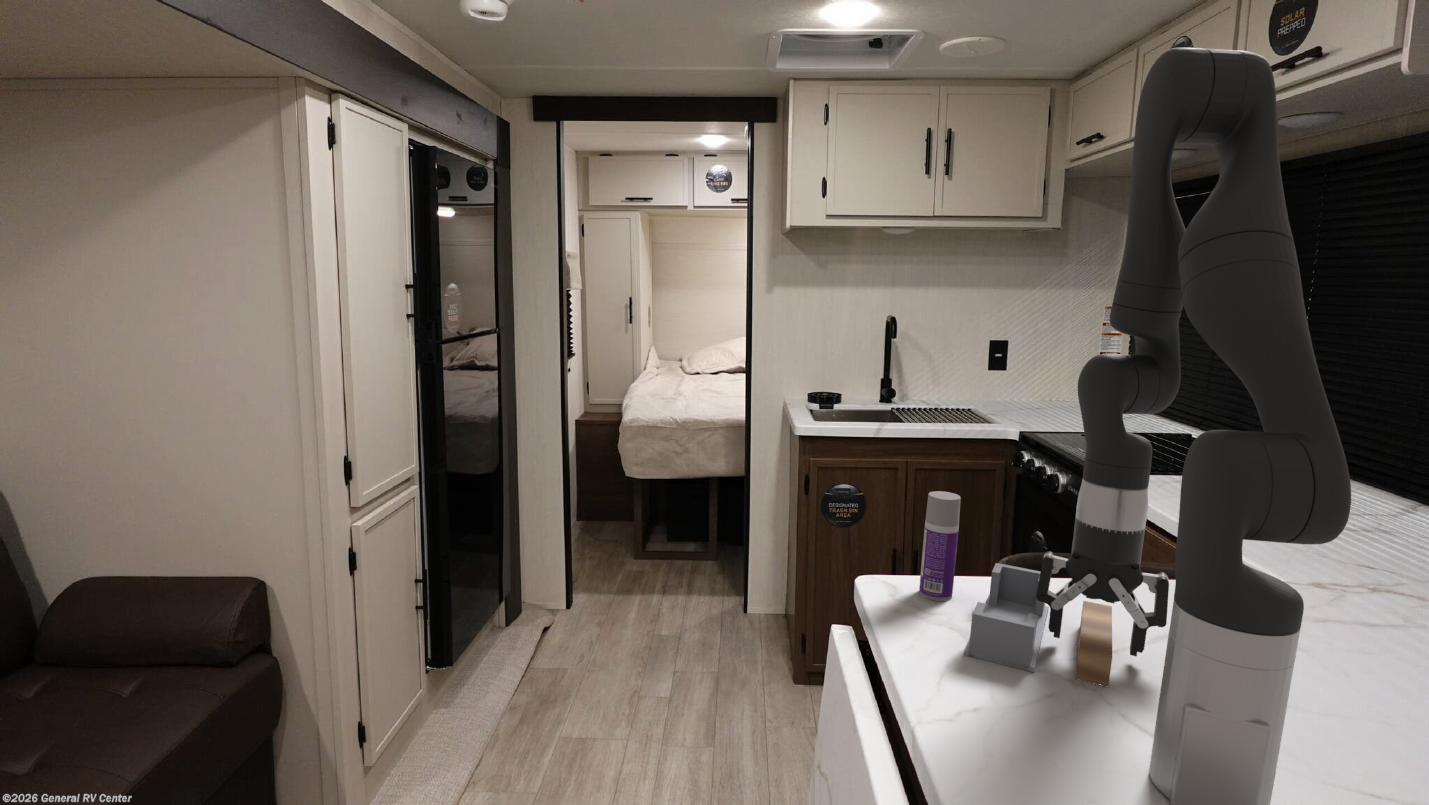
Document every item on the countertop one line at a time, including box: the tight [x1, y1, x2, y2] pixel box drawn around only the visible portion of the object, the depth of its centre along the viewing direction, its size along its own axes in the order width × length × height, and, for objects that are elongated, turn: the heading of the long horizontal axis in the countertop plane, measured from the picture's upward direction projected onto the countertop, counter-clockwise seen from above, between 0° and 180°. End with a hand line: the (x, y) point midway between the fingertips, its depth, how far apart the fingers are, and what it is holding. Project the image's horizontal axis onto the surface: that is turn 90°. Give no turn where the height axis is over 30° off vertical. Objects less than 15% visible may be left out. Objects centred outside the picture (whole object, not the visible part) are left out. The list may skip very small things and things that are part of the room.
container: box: [918, 490, 962, 602], centre depth 110 cm, size 5×5×15 cm
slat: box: [1075, 600, 1113, 687], centre depth 95 cm, size 16×3×4 cm, turn 153°
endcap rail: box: [963, 562, 1050, 673], centre depth 100 cm, size 20×8×6 cm, turn 152°
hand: (1094, 644), depth 95 cm, fingers open, 8 cm apart
